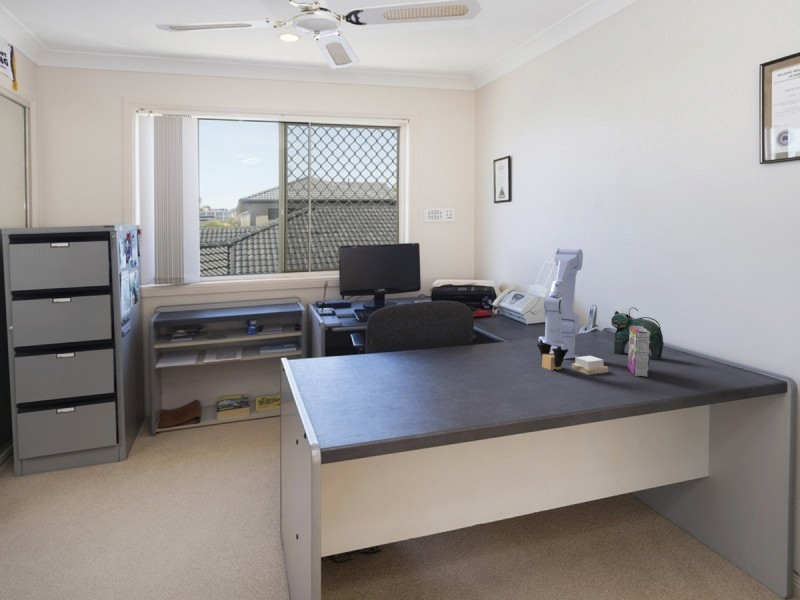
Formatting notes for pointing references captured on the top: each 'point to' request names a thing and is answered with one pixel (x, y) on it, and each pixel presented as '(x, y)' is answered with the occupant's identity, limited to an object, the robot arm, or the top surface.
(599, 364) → the off-white slab
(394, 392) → the top surface
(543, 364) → the tan cube
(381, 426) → the top surface
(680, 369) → the top surface
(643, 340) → the candy bar box
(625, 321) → the ceramic cat
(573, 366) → the maple base slab
